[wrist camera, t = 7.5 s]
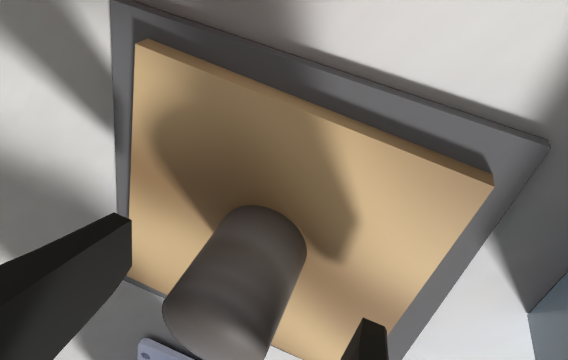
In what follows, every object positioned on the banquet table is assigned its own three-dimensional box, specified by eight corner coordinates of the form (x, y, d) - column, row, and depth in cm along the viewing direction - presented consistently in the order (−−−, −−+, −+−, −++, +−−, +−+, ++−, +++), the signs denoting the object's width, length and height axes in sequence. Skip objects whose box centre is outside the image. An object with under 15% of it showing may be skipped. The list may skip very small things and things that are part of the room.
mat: (379, 384, 17) (378, 393, 17) (125, 272, 19) (119, 278, 19) (547, 140, 10) (551, 147, 10) (119, -4, 12) (109, -2, 12)
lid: (355, 369, 17) (331, 485, 13) (135, 265, 18) (62, 348, 14) (492, 174, 11) (511, 295, 7) (148, 38, 12) (28, 89, 8)
